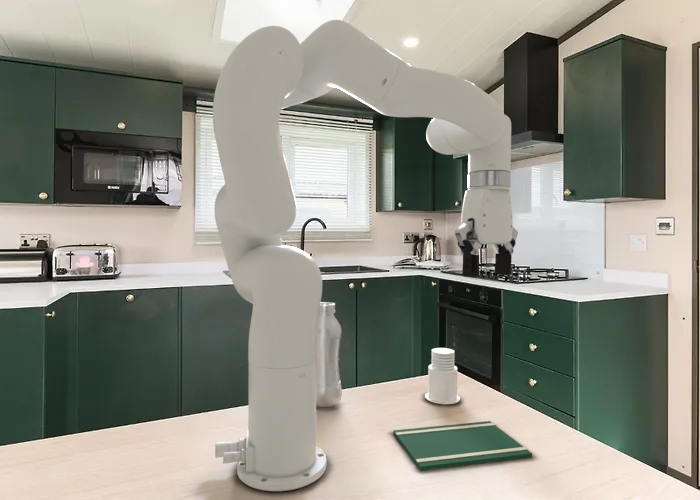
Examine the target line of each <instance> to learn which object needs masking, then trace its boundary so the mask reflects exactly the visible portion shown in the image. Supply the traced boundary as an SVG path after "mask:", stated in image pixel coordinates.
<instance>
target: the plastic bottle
mask: <svg viewBox="0 0 700 500" xmlns="http://www.w3.org/2000/svg"><path fill="white" fill-rule="evenodd" d="M335 313H336V302H331V301H327V302H326V301H321V303H320V308H319V314H318V322H317V336H316V407H321V408H331V407H335V406H337V405H339V403H340V402H341V400H342V397H343V396H342V395H343V387H342V382H341V373H340V349H341V341H342V335H343V334H342V333H343V330H342V326H341V324H340V322H339V320H338V319H337V318H336V317H335V315H334V314H335Z"/></svg>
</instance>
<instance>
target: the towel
mask: <svg viewBox="0 0 700 500" xmlns="http://www.w3.org/2000/svg"><path fill="white" fill-rule="evenodd" d="M392 434H393V436H394V437H395V439H396V440H397V441H398V442H399V444H400V445H401V446H402V448H403V449H404V450H405V452H406V453H407V455H408V456H409V457H410V459H411V460H412V461H413V462H414V464H415V465H416V466H417V468H418V469H419V471H428V470H436V469H446V468H455V467H460V466H469V465H471V466H472V465H478V464H487V463H495V462H502V461H513V460H520V459H528V458H533V453H532V452H531V451H530V450H529V449H528V448H527V447H525V446H523V445H522V444H520V443H519V442H518V441H517V440H515V439H514V438H513V437H511V436H510V435H508V434H507V433H506V432H505V431H503V430H502V429H501V428H500V427H498V426H497V425H496V424H495V423H494V422H492V421H490V420H487V421H476V422H475V421H474V422H465V423H456V424H445V425H434V426H424V427H415V428H404V429H403V428H402V429H393V432H392Z"/></svg>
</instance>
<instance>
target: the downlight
mask: <svg viewBox="0 0 700 500" xmlns="http://www.w3.org/2000/svg"><path fill="white" fill-rule="evenodd" d="M455 355H456V354H455V350H454V349H452V348H447V347H435V348H432V349H431V359H430V360H431V361H430V362H431V364H429V365H428V367H427V376H428V377H427V393H425V395H424V398H425V399H426V400H427V401H429V402H431V403H434V404H438V405H439V404H441V405H443V406H444V405H446V406H447V405H453V404H457V403H459V402H460V401H461V397H460V396H459V395H458V366H457V365H455Z"/></svg>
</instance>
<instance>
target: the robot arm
mask: <svg viewBox="0 0 700 500" xmlns="http://www.w3.org/2000/svg"><path fill="white" fill-rule="evenodd" d="M336 88H337V89H339V90H341V91H343V92H344V93H346V94H348V95H350V96H351V97H353V98H354V99H356V100H358V101H360V102H361V103H363V104H365V105H367V107H370V108H371V109H373V110H375V111H376V112H378V113H379V114H381V115H384V116H388V117H395V118H430V119H431V121H430V122H429V123H428V125H427V128H426V132H425V136H426V141H427V143H428V145H429V146H430V148H431V149H432V150H434V152H436V153H439V154H441V155H447V156H449V155H450V156H451V155H468V158H467V159H468V161H467V190H465V192H464V196H463V200H462V201H463V202H462V208H461V219H460V226H458V227H457V228H456V229H455V230H454V235H455V237H456V241H457V246H458V248H459V249H460V254H461V255H462V276H463V277H466V278H467V277H468V278H479V276H480V254H478V252H479V250H480V248H481V247H482V245H494V247H495V249H496V251H497V253H495V257H494V258H495V259H494V263H495V265H494V273H495V274H496V275H504V276H510V275H512V260H513V259H512V258H513V257H512V255H513V254H514V247H516V243H517V242H516V241H517V237H518V234H519V232H518V230H517V229H516V228H515V227H513V206H512V198H511V165H512V164H511V163H512V162H511V161H512V121H511V117H509V116H508V115H507V114H505V113H504V111H503V109H502V107H501V106H500V104H499V103H498V102H497V101H496V100H495V99H494V98H493V96H491V95H490V94H489V93H487V92H485V91H484V90H483V89H482V88H480V87H479V86H477V85H476V84H475V83H473V82H471V81H469V80H467V79H465V78H463V77H460V76H456V75H453V74H449V73H444V72H440V71H436V70H432V69H428V68H422V67H416V66H413V65H410V63H407V62H406V61H404V60H403V59H401V57H399V56H398V55H396V54H394V53H393V52H391V51H390V50H389V49H387V48H385V47H384V46H383V45H381V44H380V43H379V42H377V41H375V40H374V39H372V38H371V37H370V36H368V35H366V34H365V33H364V32H362V31H361V30H359V29H358V28H356V27H355V26H353V25H352V24H350V23H348V22H347V21H344V20H341V19H331V20H328V21H326V22H324V23H322V24H320V25H319V26H318V27H317V28H315V30H313V31H312V32H311V33H310V34H309V35H308V36H307V37H305V39H304V40H303V41H302V42H299V40H298V38H297V36H295V34H294V33H293V32H292V31H290V30H289V29H287V28H286V27H283V26H280V25H268V26H263V27H260V28H258V29H255V30H254V31H253V32H251V33H249V34H248V35H247V36H245V38H243V39H242V40H241V41H240V42H239V43H238V44H237V45H236V47H235V48H234V49H233V50H232V51H231V53H230V54H229V56H228V57H227V59H226V61H225V63H224V65H223V67H222V69H221V72H220V75H219V77H218V80H217V83H216V86H215V90H214V94H213V95H214V96H213V101H212V124H213V133H214V137H215V144H216V148H217V152H218V157H219V162H220V167H221V170H222V175H223V180H224V184H223V185H222V186H221V188H220V189H219V191H217V194H216V197H215V200H214V220H215V224H216V229H217V232H218V233H217V234H218V236H219V239H220V240H219V241H220V244H221V247H222V251H223V255H224V258H225V262H226V265H227V269H228V272H229V275H230V279H231V282H232V284H233V287H234V289H235V291H236V292H237V293H238V294H239V296H240V297H241V298H242V299H244V300H245V301H247V302H249V303H250V304H252V311H251V317H250V323H249V331H248V343H247V346H248V347H247V350H248V351H247V363H248V365H247V366H248V370H247V371H248V375H247V376H248V380H247V381H248V383H247V384H248V385H247V386H248V389H247V390H248V396H247V397H248V405H247V407H248V409H247V410H248V414H247V415H248V417H247V418H248V421H247V423H248V430H246V431H245V437H241V438H238V441H220V442H219V441H218V442H215V448H214V457H215V458H222V462H223V464H232V463H237V464H236V475H237V477H238V479H239V480H240V481H241V482H242V483H243V484H245V485H246V486H247V487H250V488H253V489H256V490H259V491H265V492H287V491H293V490H296V489H301V488H304V487H306V486H309V485H311V484H313V483H315V482H316V481H317V480H318V479H320V478H321V477H322V476H323V475H324V473H325V472H326V469H327V464H328V462H327V461H328V460H327V455H326V453H325V451H324V450H323V449H322V448H320V447H319V446H318V445H317V406H316V336H317V322H318V314H319V308H320V303H321V302H322V298H323V297H322V295H323V277H322V276H323V275H322V272H321V270H320V268H319V265H318V263H317V262H316V260H315V259H314V258H313V257H312V256H311V255H310V254H309V253H307V252H306V251H305V250H302V249H300V248H298V247H295V246H289V245H284V244H283V239H282V236H281V235H284V234H285V233H287V231H289V230H290V229H291V227H292V226H293V224H294V223H295V220H296V217H297V211H298V210H297V209H298V208H297V201H296V196H295V192H294V189H293V184H292V181H291V177H290V174H289V169H288V165H287V161H286V157H285V154H284V149H283V143H282V137H281V130H280V117H281V111H282V110H283V109H286V108H289V107H292V106H296V105H299V104H302V103H306V102H308V101H311V100H313V99H316V98H317V99H318V98H319V97H322V96H324V95H326V94H327V93H329V92H331V91H332V90H334V89H336Z"/></svg>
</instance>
